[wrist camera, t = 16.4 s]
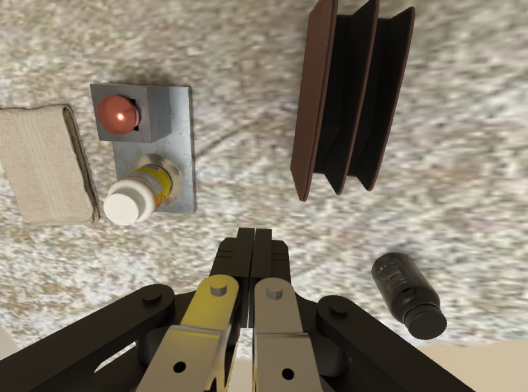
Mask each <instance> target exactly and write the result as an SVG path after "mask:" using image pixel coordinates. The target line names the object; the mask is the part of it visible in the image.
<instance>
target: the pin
mask: <svg viewBox="0 0 528 392" xmlns="http://www.w3.org/2000/svg"><path fill="white" fill-rule="evenodd" d="M97 117H98V120H99V122H100V124H101V125H102V127H103V128H104V129H105V130H107V131H108V132H110V133H112V134H115V135H123V134H126V133H129V132H132V131H133V130H134V129H135V128H136V127H137V125H138V121H139V115H138V111H137V109H136V101H135V99H134V100H129V99H127V98H125V97H123V96H118V95H116V96H107V97H105V98H103V99H102V100H101V101H100V102H99V104H98V106H97Z"/></svg>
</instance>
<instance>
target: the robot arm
mask: <svg viewBox="0 0 528 392" xmlns="http://www.w3.org/2000/svg"><path fill="white" fill-rule="evenodd" d="M254 241H255V242H254ZM248 311H249V325H248V328H253V336H252V337H253V338H252V392H322V391H323V392H475V391H474V390H472V389H471V388H470V387H468V386H467V385H465V384H464V383H463V382H462V381H460V380H459V379H458V378H456V377H455V376H453V375H452V374H451V373H449V372H448V371H447V370H445V369H444V368H442V367H441V366H440V365H438V364H437V363H436V362H434V361H433V360H432V359H430V358H429V357H427V356H426V355H425V354H423V353H422V352H421V351H419V350H418V349H417V348H415V347H414V346H412V345H411V344H410V343H408V342H407V341H406V340H404V339H403V338H401V337H400V336H399V335H397V334H396V333H395V332H393V331H392V330H391V329H389V328H388V327H386V326H385V325H384V324H382V323H381V322H380V321H378V320H377V319H375V318H374V317H373V316H371V315H370V314H369V313H367V312H366V311H365V310H363V309H362V308H360V307H359V306H358V305H356V304H355V303H354V302H352V301H351V300H349V299H347V298H345V297H342V296H337V295H328V296H325V297H323V298H321V299H320V300H319V302H318V303H316V302H313V301H310V300H307V299H304V298H302V297H301V296H299V295H298V294H297V293H296V292H295V291H294V288H293V286H292V285H291V276H290V264H289V253H288V246H287V245H286V244H285V243H284V241H281V240H272V229H259V228H256V234H255V228H241V227H239V230H238V234H237V238H229V237H227V238H225V239H224V240H223V241H222V242H221V243H220V245H219V248H218V252H217V254H216V257H215V260H214V263H213V266H212V269H211V272H210V275H209V277H207V278H205V279H204V280H203V281H202V282H201V283H200V284H199V286H198V288H197V290H195V291H193V292H189V293H184V294H178V295H174V291H173V289H172V288H171V287H169V286H167V285H163V284H152V285H148V286H145V287H143V288H140V289H139V290H137V291H135V292H133V293H131V294H129V295H127V296H125V297H123V298H121V299H119V300H117V301H115V302H113V303H111V304H109V305H107V306H105V307H104V308H102V309H100V310H98V311H96V312H94V313H92V314H90V315H88V316H86V317H84V318H82V319H80V320H78V321H76V322H74V323H72V324H70V325H69V326H67V327H65V328H63V329H61V330H59V331H57V332H55V333H53V334H51V335H49V336H47V337H45V338H43V339H41V340H39V341H37V342H35V343H34V344H32V345H30V346H28V347H26V348H24V349H22V350H20V351H18V352H16V353H14V354H12V355H10V356H8V357H6V358H4V359H3V360H0V392H227V391H228V387H229V382H230V378H231V373H232V369H233V364H234V360H235V356H236V351H237V346H238V339H239V336H240V328H247V320H248ZM134 341H135V343H136V346H134V347H133V348H131V349H130V350H128V351H127V352H125V353H124V354H122V355H121V356H119V357H118V358H116V359H115V360H113V361H112V362H110V363H109V364H107V365H106V366H104V367H102V368H101V369H99V370H98V371H96V372H95V370H96V369H97V367H98V366H99V365H100V364H101V363H102V362H104V361H105V360H107V359H108V358H110V357H111V356H113V355H114V354H116V353H117V352H119V351H121V350H122V349H124V348H125V347H127V346H128V345H130V344H131V343H133V342H134ZM94 372H95V373H94Z"/></svg>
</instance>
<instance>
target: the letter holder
mask: <svg viewBox="0 0 528 392" xmlns="http://www.w3.org/2000/svg"><path fill="white" fill-rule="evenodd" d="M337 8H338V0H319V1H318V3H317V5H316V6H315V7H314V9H313V10H312V11H311V13H310V15H309V22H308V32H307V41H306V49H305V57H304V65H303V73H302V81H301V89H300V97H299V105H298V114H297V122H296V130H295V138H294V146H293V154H292V160H291V168H290V170H291V172H292V176H293V180H294V183H295V187H296V190H297V193H298V196H299V199H300V201H303V202H305V201H306V200H307V198H308V194H309V190H310V185H311V180H312V174H313V173H317V174H325V176H326V178H327V179H328V181H329V183H330V184H331V186H332V188H333V189H334V191H335V193H336V194H337V195H340V194H341V193H342V191H343V188H344V184H345V180H346V176H351V177H357V178H358V179H359V180H360V182H361V183H362V184H363V186H364V187H365V189H366V190H367V191H371V190H372V189H373V187H374V185H375V182H376V179H377V177H378V173H379V170H380V166H381V163H382V159H383V155H384V152H385V148H386V144H387V141H388V137H389V133H390V129H391V125H392V121H393V117H394V113H395V109H396V105H397V101H398V96H399V92H400V88H401V84H402V80H403V76H404V71H405V67H406V63H407V58H408V54H409V48H410V44H411V38H412V33H413V27H414V20H415V8H414V7H409V8H408V9H406V10H405V11H403V12H401V13H399V14H398V15H396V16H394V17H393V18H390V19H385V18H378V13H379V0H369V1H368V2H367V3H366V4H365V5H363V6H362V7H361V8H360V9H359V10H357V11H356V12H355V13H354V14H353V15H338V14H337Z"/></svg>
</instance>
